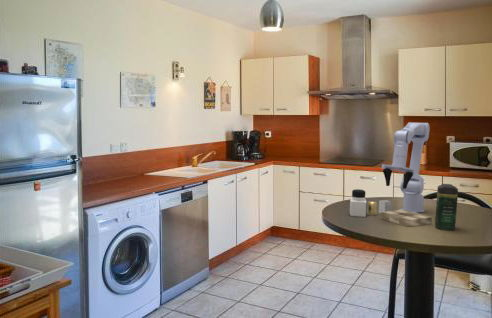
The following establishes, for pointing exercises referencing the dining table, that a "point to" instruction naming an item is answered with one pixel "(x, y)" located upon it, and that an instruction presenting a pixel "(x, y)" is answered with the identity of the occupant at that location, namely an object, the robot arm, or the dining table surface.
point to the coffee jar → (446, 207)
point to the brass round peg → (372, 208)
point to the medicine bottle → (358, 203)
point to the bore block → (406, 218)
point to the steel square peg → (384, 205)
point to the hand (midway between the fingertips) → (396, 187)
